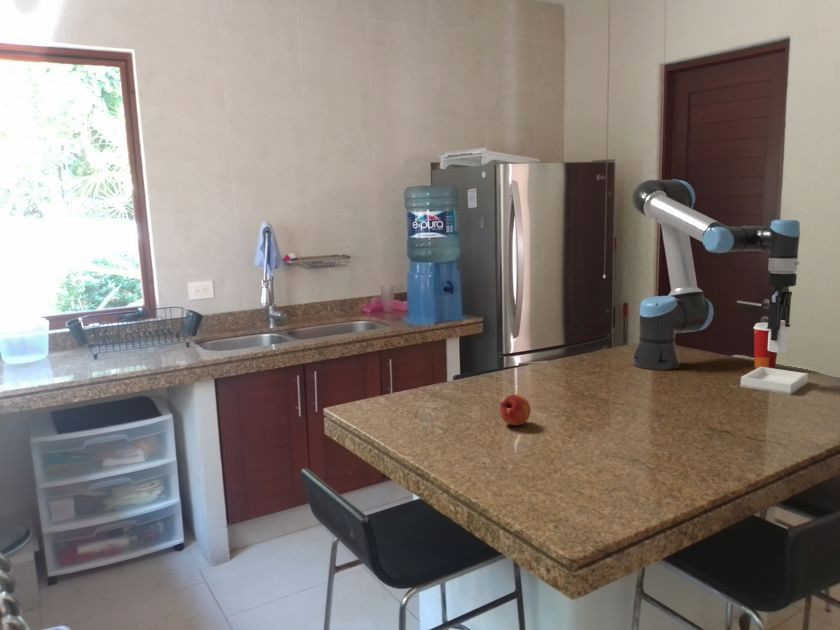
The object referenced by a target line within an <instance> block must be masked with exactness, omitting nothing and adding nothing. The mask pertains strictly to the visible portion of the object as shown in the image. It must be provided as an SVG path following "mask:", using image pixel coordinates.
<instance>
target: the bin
mask: <svg viewBox="0 0 840 630" xmlns="http://www.w3.org/2000/svg"><path fill="white" fill-rule="evenodd" d="M808 378H809V373H808V372H799V371H792V370H786V369H780V368H775V369H773V368H767V367H759V368H757V369H756V368H754V369H753V370H751V371H749V372H748V373H746V374H744V375H742V376H741V377H740V387H741V388H747V389H752V390H758V391H764V392H769V393H776V394H782V395H788V396H791V395H792V394H793V393H795V392H797V391H798V390H800V389H801V388H802V387H804V386H805V385H807V384H808V380H809V379H808Z"/></svg>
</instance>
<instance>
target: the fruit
mask: <svg viewBox="0 0 840 630" xmlns="http://www.w3.org/2000/svg"><path fill="white" fill-rule="evenodd" d="M499 406H500V408H499V409H500V410H499V412H500V418H501V419H502V421H503V422H504V423H506V424H507V425H511V426H521V425H523V424H525V423H526V422H527V421H529V418H530V415H531V412H532V409H531V405H530V402H529V401H528V400H527V398H525V397H524V396H522V395H520V394H510V395H508V396H507V397H504V400H502V402H501V403H500V405H499Z"/></svg>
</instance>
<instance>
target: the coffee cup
mask: <svg viewBox="0 0 840 630" xmlns="http://www.w3.org/2000/svg"><path fill="white" fill-rule="evenodd" d="M767 327H768V322H757V323H755V324H754V326H753V330H754V347H753V349H754V352H753V353H754V360H753V361H754V369H757V368H759V367H767V368H773V369H776V361H777V356H778V353H776V352H771V351H768V337H769V331H770V329H767Z"/></svg>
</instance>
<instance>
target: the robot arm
mask: <svg viewBox="0 0 840 630" xmlns="http://www.w3.org/2000/svg"><path fill="white" fill-rule="evenodd" d="M631 197H632V198H631V201H632V205H633V207H634V208H635V210H636V211H637V212H639V213H640V214H641V215H644V216H645V217H648V218H649V219H653V218H655V221H656V223H658V224H660V227H661V231H662V232H661V233H662V239H663V246H664V251H665V258H666V266H667V270H668V278H669V284H670V292H669V294H668V295H660V296H656V295H655V296H649V297H646V298H644V299H643V300H642V301H641V303H640V310H639V329H638V331H639V332H638V333H639V334H638V344H637V346H636V349H635V352H634V354H633V357H632V365H633V366H636V367H638V368H642V369H647V370H656V371H657V370H659V371H667V370H668V371H669V370H675V369H678V368H679V367H680V357H679V353H678V351H677V347H676V334H681V333H695V332H697V331H702V330H705V329H706V328H707V327H708V326H710V324H711V322H712V320H713V318H714V306H713V304H712V302H711V301H710V300H709V299H708V298H706V297H704V292H703V291H704V290H702V289H701V288H699V287H698V283H697V277H696V270H695V265H694V258H693V250H692V245H691V238H690V237H692V238H693V239H696V240H698V241H699V242H701V243H702V244H703V245H702V246H704V248H705V250H706V251H707V252H709V253H715V254H723V253H734V252H738V253H739V252H768V256H769V257H768V265H767V266H768V267H767V270H768V273H767V283H766V284H767V285H769V286H771V287H772V286H773V291H772V292H771V294H769V296H768V300H769V301H768V302H769V306H768V319H767V321H768V322H767V323H768V327H767V329H770V342H769V351H777V352H779V351H780V337H781V330H779V329H780V323H781V320H784V321H785V327H784V331H786V332H787V329H788V328H790V327H791V324H790V320H791V319H790V316H791V306H792V305H791V301H792V295H793V292H792V291H790V289H789V288H791V287H795V286H796V285H797V275H798V274H797V273H795V272H797V271H798V265H800V262H799V261H798V259H799V254H798V253H799V245H800V237H801V233H800V232H801V231H800V230H801V227H800V226H801V224H800V221H798V220H797V219H774V220H772V221H771V223H770V225H769V226H761V225H760V226H759V225H744V226H728V225H725V224H723V223H721V222H719V221H718V220H715V219H714V218H711V217H709V216H708V215H706V214H703V213H701V212H698V211H697V210H695V209H693V208H694V206H695V205H694V204H695V203H696V194H695V190H694V188H693V187H692V185H691V184H690V183H688V182H687V181H685V180H682V179H681V180H678V179H648V180H645V181H642V182H640V183H639V184H638V185H637V186H636V187H635V189H634V190H633V192H632V196H631Z"/></svg>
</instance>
